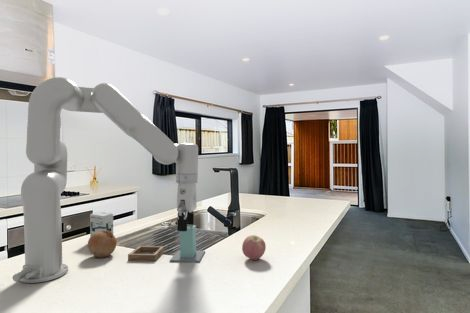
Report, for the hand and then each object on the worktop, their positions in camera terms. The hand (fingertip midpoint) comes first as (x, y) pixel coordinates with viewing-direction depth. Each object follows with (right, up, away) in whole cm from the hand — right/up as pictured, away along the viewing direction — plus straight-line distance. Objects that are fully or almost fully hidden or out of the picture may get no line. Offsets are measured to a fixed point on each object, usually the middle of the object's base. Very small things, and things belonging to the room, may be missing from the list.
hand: (185, 227), depth 105 cm
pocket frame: (-14, -11, +2) cm, 18 cm away
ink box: (-38, -11, +19) cm, 44 cm away
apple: (+24, -11, -3) cm, 26 cm away
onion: (-30, -11, +2) cm, 32 cm away
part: (+1, -10, 0) cm, 10 cm away
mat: (+1, -10, 0) cm, 10 cm away
